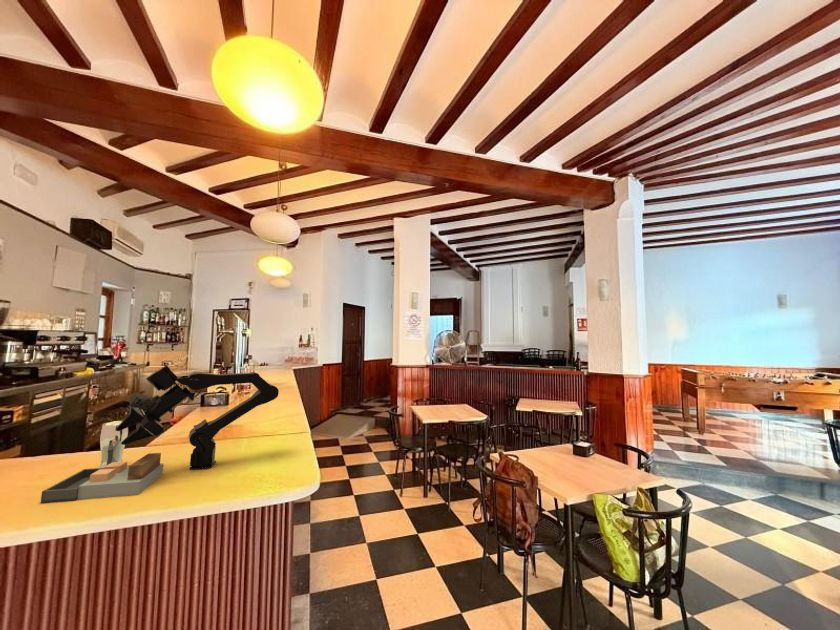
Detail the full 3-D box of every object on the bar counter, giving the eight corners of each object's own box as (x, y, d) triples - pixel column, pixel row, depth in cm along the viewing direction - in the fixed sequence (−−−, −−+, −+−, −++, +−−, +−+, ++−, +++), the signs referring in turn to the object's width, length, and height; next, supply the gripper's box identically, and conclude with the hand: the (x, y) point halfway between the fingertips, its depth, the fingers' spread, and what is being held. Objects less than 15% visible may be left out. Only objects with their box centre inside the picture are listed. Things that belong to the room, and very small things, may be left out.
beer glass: (107, 472, 109) (112, 426, 111) (91, 470, 111) (96, 424, 112) (129, 465, 116) (134, 421, 117) (114, 463, 118) (118, 420, 119)
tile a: (126, 468, 105) (127, 461, 105) (119, 472, 101) (119, 466, 101) (111, 469, 104) (112, 462, 104) (103, 473, 100) (103, 467, 100)
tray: (112, 476, 106) (113, 467, 106) (75, 500, 91) (77, 488, 91) (83, 478, 104) (84, 469, 104) (40, 503, 89) (41, 491, 89)
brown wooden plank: (159, 465, 108) (161, 452, 108) (141, 479, 97) (143, 465, 97) (147, 466, 107) (148, 453, 107) (127, 480, 96) (128, 465, 97)
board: (162, 474, 109) (163, 463, 110) (137, 494, 95) (139, 481, 95) (111, 477, 106) (112, 466, 106) (77, 499, 91) (78, 486, 92)
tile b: (115, 475, 99) (115, 468, 99) (106, 480, 95) (107, 473, 95) (98, 476, 98) (99, 469, 98) (89, 482, 94) (90, 474, 94)
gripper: (144, 375, 113) (93, 409, 105) (158, 396, 102) (102, 437, 94) (167, 395, 120) (121, 429, 112) (183, 417, 109) (133, 456, 101)
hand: (119, 437), depth 104 cm, fingers open, 9 cm apart
